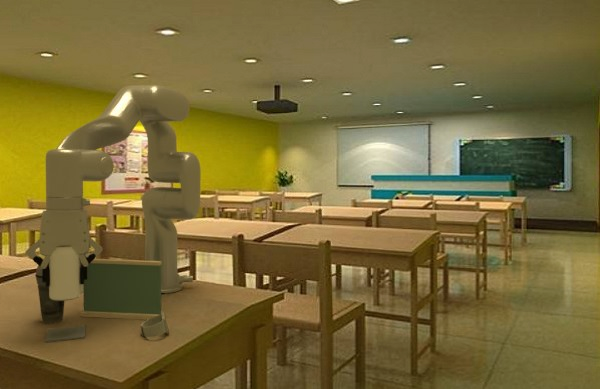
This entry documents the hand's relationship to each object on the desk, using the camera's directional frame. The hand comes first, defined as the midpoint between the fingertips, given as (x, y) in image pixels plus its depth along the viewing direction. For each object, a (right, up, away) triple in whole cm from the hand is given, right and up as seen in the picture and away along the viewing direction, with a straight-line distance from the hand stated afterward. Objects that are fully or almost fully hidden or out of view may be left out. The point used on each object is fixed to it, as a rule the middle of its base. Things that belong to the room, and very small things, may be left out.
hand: (65, 283), depth 113 cm
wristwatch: (+19, -12, +3) cm, 23 cm away
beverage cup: (-8, -11, +11) cm, 17 cm away
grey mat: (0, -12, +1) cm, 12 cm away
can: (0, -3, 0) cm, 3 cm away
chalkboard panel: (+7, -11, +15) cm, 20 cm away
